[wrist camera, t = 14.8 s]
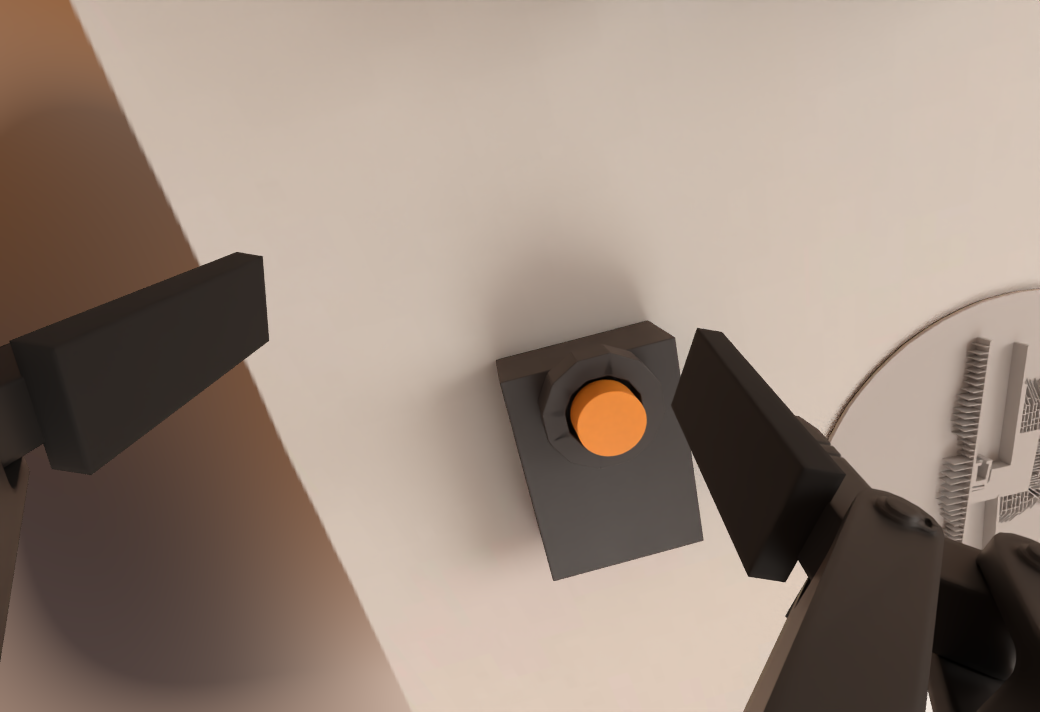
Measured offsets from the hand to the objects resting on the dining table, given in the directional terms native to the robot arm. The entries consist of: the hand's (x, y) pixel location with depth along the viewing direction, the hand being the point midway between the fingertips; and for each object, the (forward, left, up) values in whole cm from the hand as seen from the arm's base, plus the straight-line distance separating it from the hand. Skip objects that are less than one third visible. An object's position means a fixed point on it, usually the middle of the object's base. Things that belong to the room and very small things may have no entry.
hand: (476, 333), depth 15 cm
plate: (+24, +34, -15) cm, 44 cm away
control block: (+13, +5, -15) cm, 20 cm away
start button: (+8, +5, -9) cm, 13 cm away
